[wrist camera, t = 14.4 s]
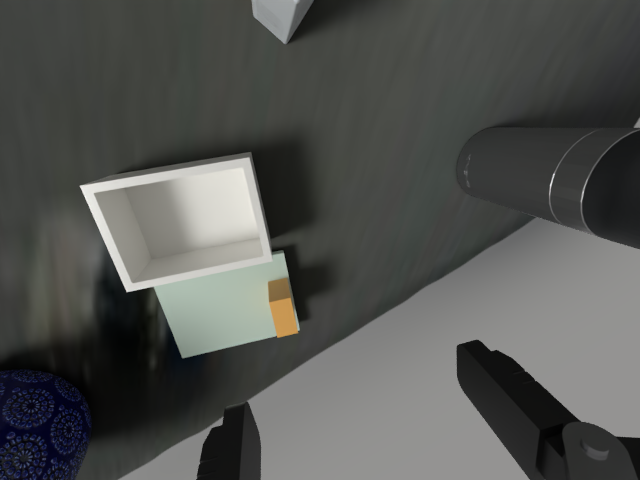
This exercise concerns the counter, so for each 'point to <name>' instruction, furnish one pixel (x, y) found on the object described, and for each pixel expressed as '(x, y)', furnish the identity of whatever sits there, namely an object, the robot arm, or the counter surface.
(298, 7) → the skincare box
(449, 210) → the counter surface
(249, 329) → the lid
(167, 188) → the tub
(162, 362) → the counter surface
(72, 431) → the planter
